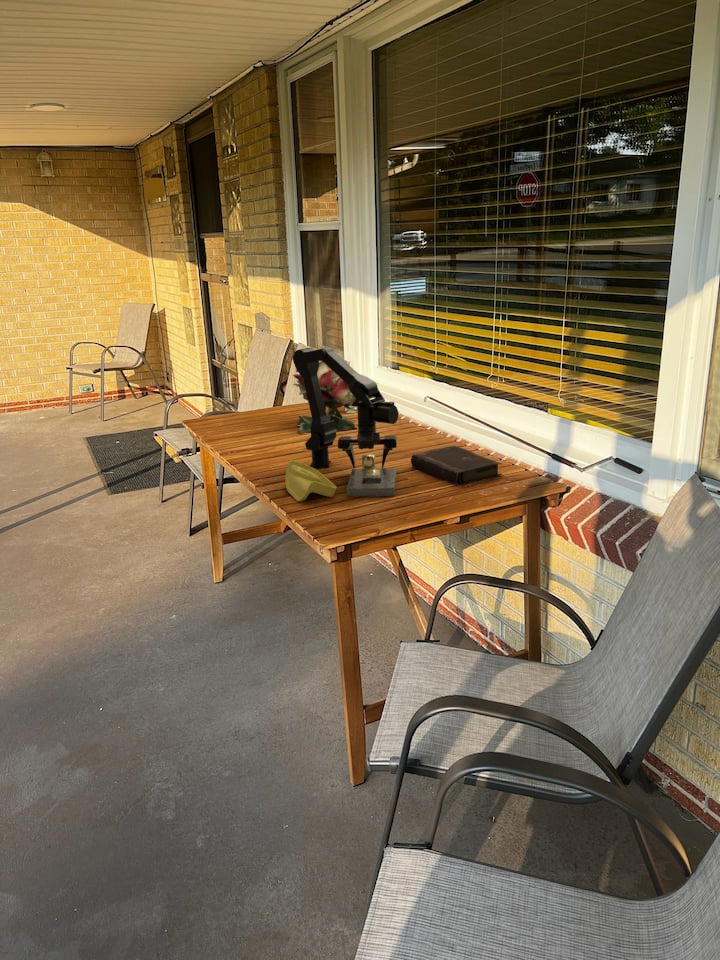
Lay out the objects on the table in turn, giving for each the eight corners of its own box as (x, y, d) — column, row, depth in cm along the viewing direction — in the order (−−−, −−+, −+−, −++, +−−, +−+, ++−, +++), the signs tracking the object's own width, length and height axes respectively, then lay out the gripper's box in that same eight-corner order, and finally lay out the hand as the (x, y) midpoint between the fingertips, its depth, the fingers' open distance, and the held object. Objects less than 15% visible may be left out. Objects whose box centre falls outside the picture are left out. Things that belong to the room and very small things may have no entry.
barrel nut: (363, 471, 238) (362, 453, 236) (375, 471, 237) (374, 453, 236) (362, 475, 234) (361, 457, 232) (374, 475, 234) (373, 457, 232)
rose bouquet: (370, 428, 295) (367, 354, 286) (300, 436, 286) (296, 360, 277) (349, 415, 318) (346, 346, 309) (284, 423, 309) (279, 352, 300)
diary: (455, 487, 220) (455, 471, 218) (410, 468, 241) (410, 453, 239) (504, 476, 228) (504, 461, 227) (456, 458, 249) (456, 444, 248)
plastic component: (339, 489, 214) (309, 480, 208) (329, 512, 215) (299, 503, 210) (314, 467, 231) (286, 458, 226) (305, 488, 232) (277, 480, 227)
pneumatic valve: (364, 412, 323) (363, 386, 319) (338, 414, 320) (337, 388, 317) (362, 410, 328) (361, 384, 324) (336, 412, 326) (335, 385, 322)
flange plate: (352, 476, 233) (352, 468, 232) (396, 475, 232) (396, 467, 231) (346, 496, 214) (346, 487, 213) (394, 496, 213) (394, 487, 212)
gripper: (334, 427, 223) (337, 475, 228) (395, 426, 222) (396, 474, 227) (338, 419, 234) (340, 465, 239) (396, 418, 233) (397, 464, 237)
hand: (368, 467), depth 235 cm, fingers open, 9 cm apart
